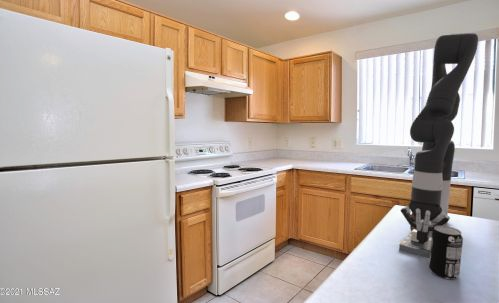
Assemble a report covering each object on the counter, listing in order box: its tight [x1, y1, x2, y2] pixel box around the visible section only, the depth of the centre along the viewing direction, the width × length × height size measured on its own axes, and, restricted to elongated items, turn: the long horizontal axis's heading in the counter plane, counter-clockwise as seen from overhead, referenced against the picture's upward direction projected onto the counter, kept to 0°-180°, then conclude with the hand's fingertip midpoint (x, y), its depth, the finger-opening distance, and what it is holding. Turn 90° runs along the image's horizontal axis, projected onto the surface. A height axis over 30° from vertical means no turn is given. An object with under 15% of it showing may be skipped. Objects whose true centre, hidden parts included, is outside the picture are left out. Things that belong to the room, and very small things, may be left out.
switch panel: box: [398, 232, 431, 260], centre depth 86 cm, size 13×12×2 cm
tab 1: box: [411, 229, 419, 242], centre depth 88 cm, size 2×3×3 cm
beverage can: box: [428, 225, 464, 280], centre depth 72 cm, size 7×7×12 cm
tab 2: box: [427, 237, 432, 250], centre depth 81 cm, size 2×3×3 cm
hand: (421, 242), depth 84 cm, fingers closed
